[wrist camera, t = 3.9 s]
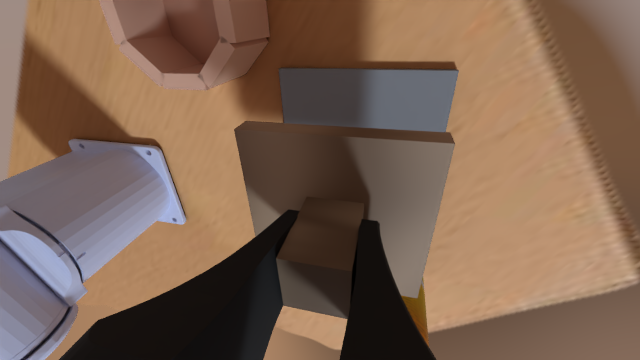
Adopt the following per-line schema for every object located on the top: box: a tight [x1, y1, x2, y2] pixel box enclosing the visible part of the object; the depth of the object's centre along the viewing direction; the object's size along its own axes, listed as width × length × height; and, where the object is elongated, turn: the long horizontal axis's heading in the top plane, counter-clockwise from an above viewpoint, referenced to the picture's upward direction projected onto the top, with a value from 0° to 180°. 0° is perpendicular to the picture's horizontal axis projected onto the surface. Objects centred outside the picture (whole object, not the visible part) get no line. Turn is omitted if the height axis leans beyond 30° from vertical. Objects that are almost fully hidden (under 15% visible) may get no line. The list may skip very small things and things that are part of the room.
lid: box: [234, 121, 455, 319], centre depth 11 cm, size 8×8×4 cm
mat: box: [279, 68, 459, 132], centre depth 18 cm, size 10×10×1 cm
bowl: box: [99, 0, 270, 90], centre depth 15 cm, size 7×7×4 cm
